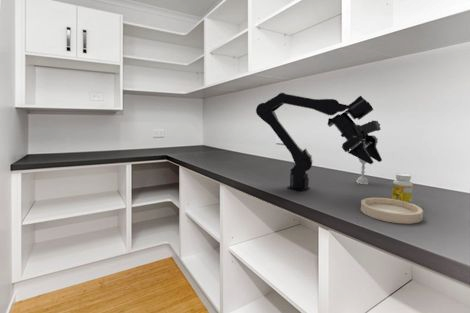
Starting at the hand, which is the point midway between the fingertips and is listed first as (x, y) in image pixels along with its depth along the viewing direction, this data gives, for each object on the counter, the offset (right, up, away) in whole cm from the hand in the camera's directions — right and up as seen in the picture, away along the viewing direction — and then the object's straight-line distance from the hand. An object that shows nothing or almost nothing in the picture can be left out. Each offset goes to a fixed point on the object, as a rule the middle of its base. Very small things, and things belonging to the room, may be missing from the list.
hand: (376, 162), depth 84 cm
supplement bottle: (+6, -14, -3) cm, 15 cm away
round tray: (-3, -15, -12) cm, 19 cm away
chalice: (+8, -10, +25) cm, 29 cm away
